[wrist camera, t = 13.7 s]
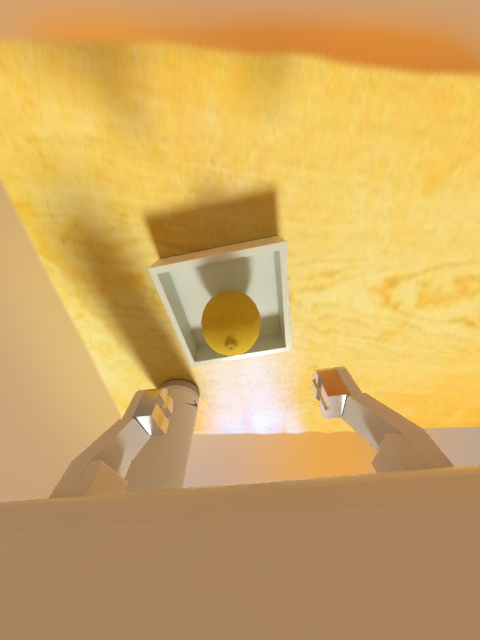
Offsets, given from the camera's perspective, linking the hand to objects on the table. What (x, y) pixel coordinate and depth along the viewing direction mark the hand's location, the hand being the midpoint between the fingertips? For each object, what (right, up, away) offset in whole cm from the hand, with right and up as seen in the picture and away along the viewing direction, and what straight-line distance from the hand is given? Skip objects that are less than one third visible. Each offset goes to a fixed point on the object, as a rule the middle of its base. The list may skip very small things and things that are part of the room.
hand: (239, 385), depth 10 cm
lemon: (-1, +6, +11) cm, 13 cm away
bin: (-1, +6, +11) cm, 13 cm away
